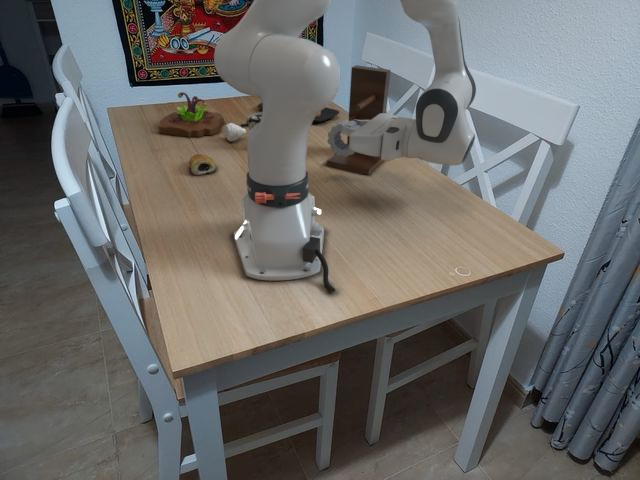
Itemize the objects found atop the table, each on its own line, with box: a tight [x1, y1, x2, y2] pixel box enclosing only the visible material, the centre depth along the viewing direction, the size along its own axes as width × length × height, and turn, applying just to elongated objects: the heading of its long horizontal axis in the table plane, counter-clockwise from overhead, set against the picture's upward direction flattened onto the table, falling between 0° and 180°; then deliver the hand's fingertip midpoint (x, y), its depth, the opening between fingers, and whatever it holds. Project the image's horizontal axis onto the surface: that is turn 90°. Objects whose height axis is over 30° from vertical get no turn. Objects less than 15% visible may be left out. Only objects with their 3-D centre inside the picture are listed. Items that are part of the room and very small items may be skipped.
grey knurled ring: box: [327, 119, 361, 157], centre depth 112 cm, size 4×8×8 cm, turn 62°
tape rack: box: [326, 64, 391, 176], centre depth 121 cm, size 15×12×24 cm
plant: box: [158, 91, 225, 138], centre depth 145 cm, size 20×20×11 cm
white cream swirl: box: [224, 122, 247, 143], centre depth 138 cm, size 6×6×5 cm
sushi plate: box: [240, 102, 340, 127], centre depth 156 cm, size 29×30×4 cm
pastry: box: [188, 153, 217, 176], centre depth 120 cm, size 9×7×4 cm
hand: (347, 126), depth 110 cm, fingers closed on grey knurled ring, 4 cm apart
